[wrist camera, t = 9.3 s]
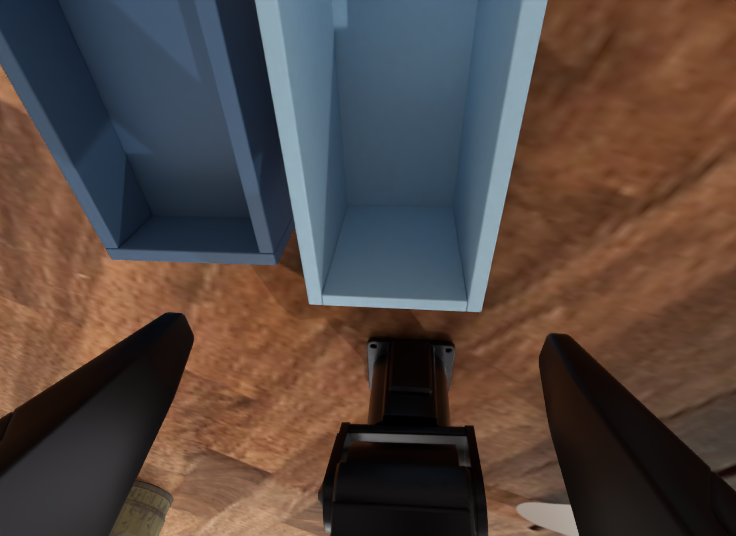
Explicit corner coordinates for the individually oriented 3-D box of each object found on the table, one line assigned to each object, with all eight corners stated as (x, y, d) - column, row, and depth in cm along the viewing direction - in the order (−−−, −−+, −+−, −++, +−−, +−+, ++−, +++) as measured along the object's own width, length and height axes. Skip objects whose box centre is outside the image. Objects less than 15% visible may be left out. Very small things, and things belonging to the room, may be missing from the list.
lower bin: (295, 225, 23) (276, 266, 20) (150, 222, 24) (110, 260, 21) (237, -106, 14) (185, -127, 11) (8, -91, 15) (-99, -107, 12)
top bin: (462, 211, 21) (481, 312, 15) (339, 209, 22) (308, 305, 16) (501, -77, 14) (572, -115, 8) (314, -67, 14) (236, -95, 8)
